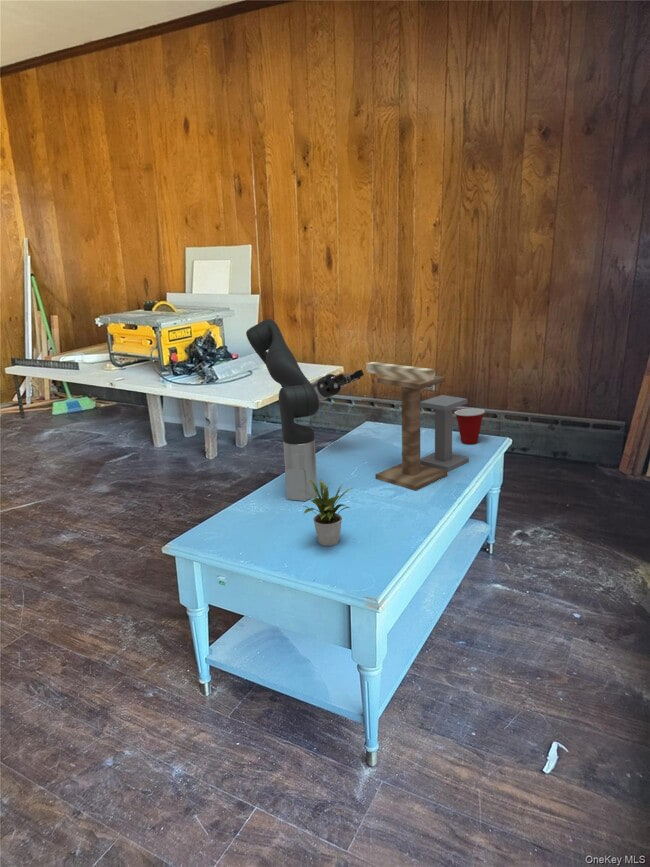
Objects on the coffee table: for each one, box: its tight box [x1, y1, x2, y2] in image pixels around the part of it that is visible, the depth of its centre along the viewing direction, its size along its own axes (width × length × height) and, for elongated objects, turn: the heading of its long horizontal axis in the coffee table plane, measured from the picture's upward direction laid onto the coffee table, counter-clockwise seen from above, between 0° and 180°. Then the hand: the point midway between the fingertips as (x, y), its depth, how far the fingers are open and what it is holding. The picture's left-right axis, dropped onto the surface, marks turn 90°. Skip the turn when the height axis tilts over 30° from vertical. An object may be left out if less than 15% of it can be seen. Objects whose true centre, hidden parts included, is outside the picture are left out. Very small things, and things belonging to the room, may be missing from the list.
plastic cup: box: [454, 408, 486, 445], centre depth 218 cm, size 11×11×12 cm
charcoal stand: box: [420, 394, 470, 472], centre depth 196 cm, size 12×12×22 cm
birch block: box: [365, 361, 435, 381], centre depth 182 cm, size 24×3×3 cm, turn 44°
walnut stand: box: [375, 375, 449, 492], centre depth 184 cm, size 16×16×32 cm
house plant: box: [303, 478, 354, 547], centre depth 147 cm, size 14×14×16 cm
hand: (352, 374), depth 198 cm, fingers open, 8 cm apart
